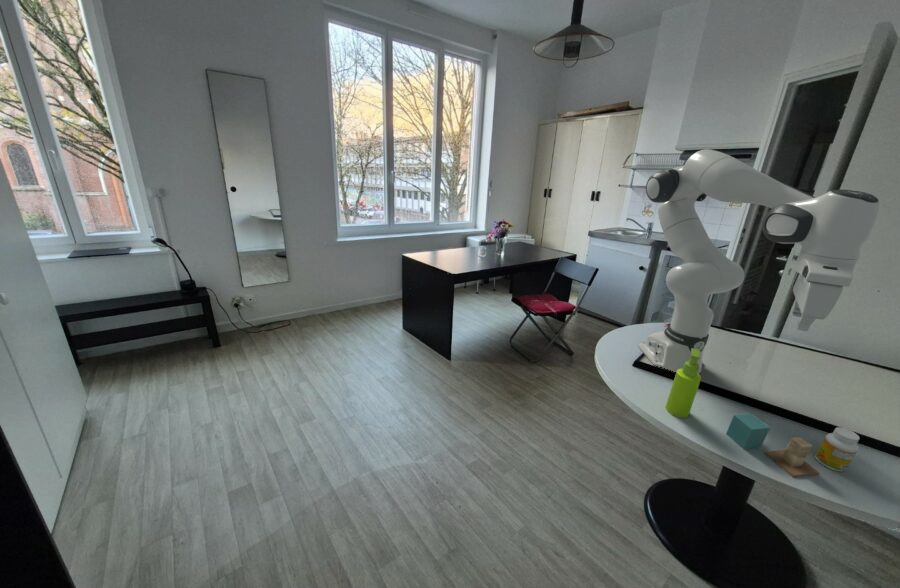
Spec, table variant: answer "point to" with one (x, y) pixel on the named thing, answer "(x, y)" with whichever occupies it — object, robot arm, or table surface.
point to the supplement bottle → (838, 449)
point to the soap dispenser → (684, 387)
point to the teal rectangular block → (747, 431)
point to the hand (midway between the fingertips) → (798, 322)
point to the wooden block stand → (794, 458)
